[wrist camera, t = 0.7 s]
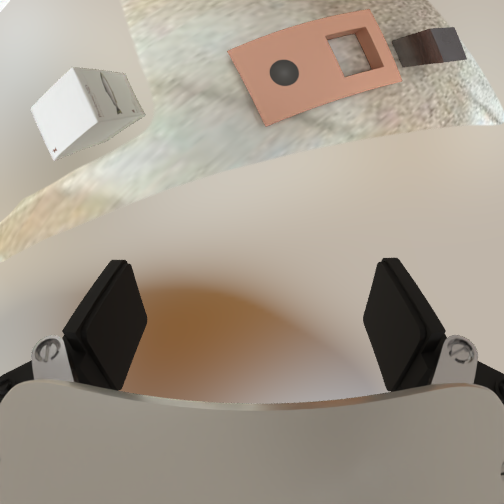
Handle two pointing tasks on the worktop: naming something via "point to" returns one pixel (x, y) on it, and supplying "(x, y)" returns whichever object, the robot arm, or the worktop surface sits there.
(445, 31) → the square peg
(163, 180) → the worktop surface
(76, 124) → the supplement box
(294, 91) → the bore block
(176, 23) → the worktop surface
